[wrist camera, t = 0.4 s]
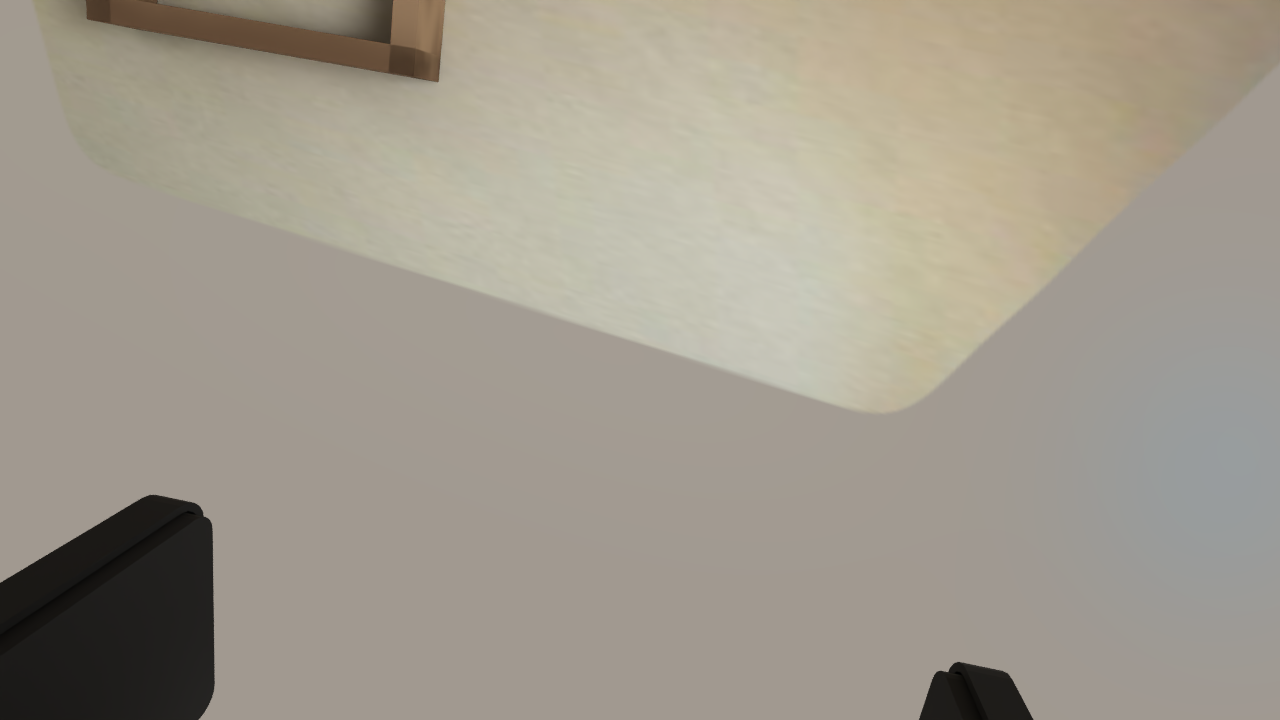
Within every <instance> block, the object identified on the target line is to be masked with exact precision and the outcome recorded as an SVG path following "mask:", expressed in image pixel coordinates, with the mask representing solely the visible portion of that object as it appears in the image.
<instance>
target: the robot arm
mask: <svg viewBox="0 0 1280 720" xmlns="http://www.w3.org/2000/svg"><path fill="white" fill-rule="evenodd" d="M212 532H213V531H212V524H211V522H210V520H209V519H208V518H206V517H204V516H203V511H202V509H201V508H200V506H199V505H197V504H195V503H192V502H187V501H183V500H178V499H173V498H168V497H163V496H158V495H149V496H146V497H144V498H142V499H140V500H138V501H137V502H135V503H133V504H131V505H130V506H128V507H126V508H125V509H123V510H121V511H120V512H118V513H116V514H115V515H113V516H111V517H110V518H108V519H106V520H105V521H103V522H101V523H100V524H98V525H97V526H95V527H93V528H92V529H90V530H88V531H86V532H85V533H83V534H81V535H80V536H78V537H76V538H75V539H73V540H71V541H70V542H68V543H66V544H65V545H63V546H61V547H59V548H58V549H56V550H54V551H53V552H51V553H49V554H48V555H46V556H45V557H43V558H41V559H39V560H38V561H36V562H35V563H33V564H31V565H29V566H28V567H26V568H24V569H23V570H21V571H19V572H18V573H16V574H14V575H13V576H11V577H9V578H8V579H6V580H4V581H3V582H1V583H0V720H198V719H199V718H200V717H201V716H202V715H203V713H204V712H205V710H206V709H207V707H208V705H209V703H210V700H211V698H212V695H213V692H214V684H215V681H214V608H213V607H214V606H213V535H212V534H213V533H212ZM919 720H1033V718H1032V716H1031V714H1030V712H1029V711H1028V709H1027V707H1026V705H1025V703H1024V701H1023V699H1022V697H1021V695H1020V694H1019V691H1018V690H1017V688H1016V686H1015V684H1014V682H1013V680H1012V679H1011V678H1010V676H1009V675H1008V673H1005V672H1003V671H1000V670H995V669H990V668H985V667H980V666H976V665H971V664H966V663H961V662H957V663H954V664H953V665H952V666H951V667H950V669H949V672H944V671H938V672H937V673H936V674H935V675H934V677H933V679H932V682H931V685H930V688H929V691H928V694H927V697H926V700H925V704H924V707H923V709H922V712H921V715H920V718H919Z"/></svg>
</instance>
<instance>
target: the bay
mask: <svg viewBox="0 0 1280 720" xmlns="http://www.w3.org/2000/svg"><path fill="white" fill-rule="evenodd" d="M86 7H87V19H88V20H93V21H99V22H104V23H109V24H114V25H119V26H124V27H129V28H134V29H139V30H145V31H151V32H156V33H162V34H168V35H174V36H179V37H185V38H191V39H196V40H202V41H208V42H213V43H219V44H225V45H230V46H236V47H242V48H247V49H253V50H259V51H264V52H270V53H276V54H282V55H287V56H293V57H299V58H304V59H310V60H316V61H321V62H327V63H333V64H338V65H344V66H350V67H355V68H361V69H367V70H372V71H378V72H384V73H390V74H395V75H401V76H407V77H412V78H418V79H424V80H429V81H435V82H438V81H439V69H440V57H441V45H442V34H443V22H444V10H445V0H393V11H392V27H391V42H390V44H386V43H380V42H374V41H369V40H363V39H357V38H351V37H346V36H340V35H334V34H328V33H322V32H317V31H311V30H305V29H299V28H294V27H288V26H282V25H276V24H271V23H265V22H259V21H253V20H247V19H242V18H236V17H230V16H224V15H219V14H213V13H207V12H201V11H195V10H190V9H184V8H178V7H172V6H167V5H161V4H157V0H86Z"/></svg>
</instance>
